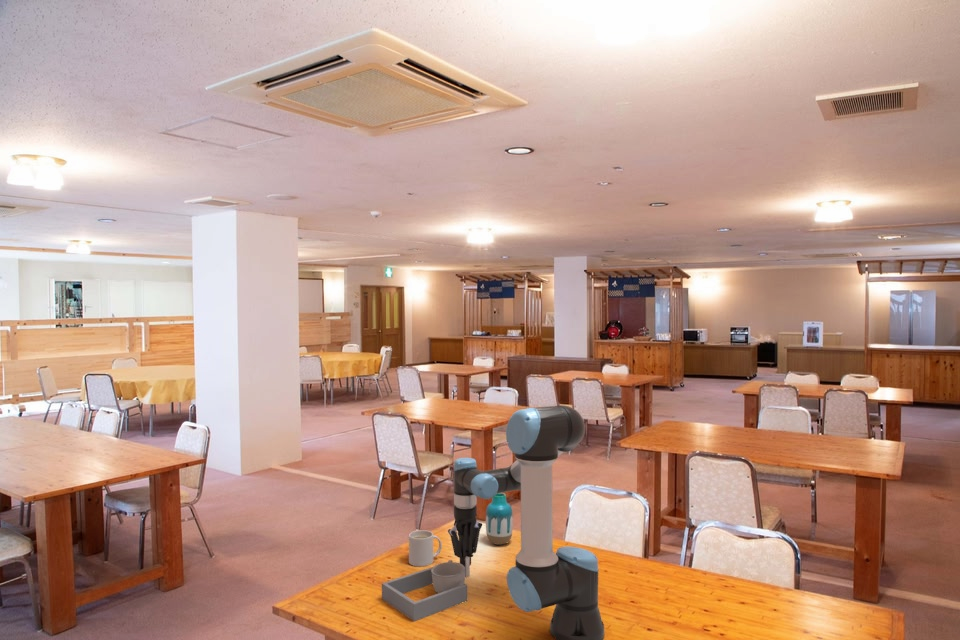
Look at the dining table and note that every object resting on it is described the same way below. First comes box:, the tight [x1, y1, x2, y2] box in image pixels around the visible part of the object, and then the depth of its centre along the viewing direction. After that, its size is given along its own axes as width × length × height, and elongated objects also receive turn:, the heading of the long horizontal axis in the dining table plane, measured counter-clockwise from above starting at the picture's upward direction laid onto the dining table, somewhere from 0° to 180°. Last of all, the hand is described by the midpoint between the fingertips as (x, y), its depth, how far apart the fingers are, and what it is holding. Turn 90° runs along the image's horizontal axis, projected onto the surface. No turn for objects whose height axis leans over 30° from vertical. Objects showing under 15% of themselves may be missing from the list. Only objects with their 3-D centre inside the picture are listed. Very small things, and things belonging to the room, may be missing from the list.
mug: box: [408, 529, 443, 567], centre depth 225 cm, size 11×10×10 cm
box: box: [381, 566, 468, 622], centre depth 195 cm, size 18×20×5 cm
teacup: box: [431, 559, 466, 594], centre depth 202 cm, size 14×11×8 cm
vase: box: [485, 492, 514, 545], centre depth 243 cm, size 11×11×19 cm
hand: (465, 575), depth 206 cm, fingers closed
